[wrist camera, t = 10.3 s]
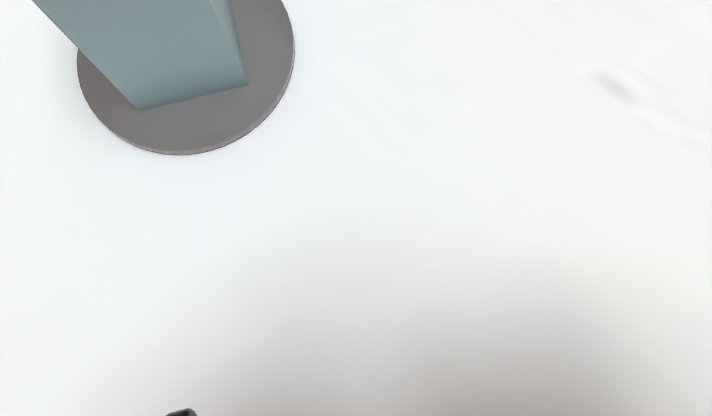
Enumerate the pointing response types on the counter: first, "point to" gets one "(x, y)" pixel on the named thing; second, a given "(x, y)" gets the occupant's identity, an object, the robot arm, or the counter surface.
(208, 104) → the coaster
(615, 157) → the counter surface
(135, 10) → the block
